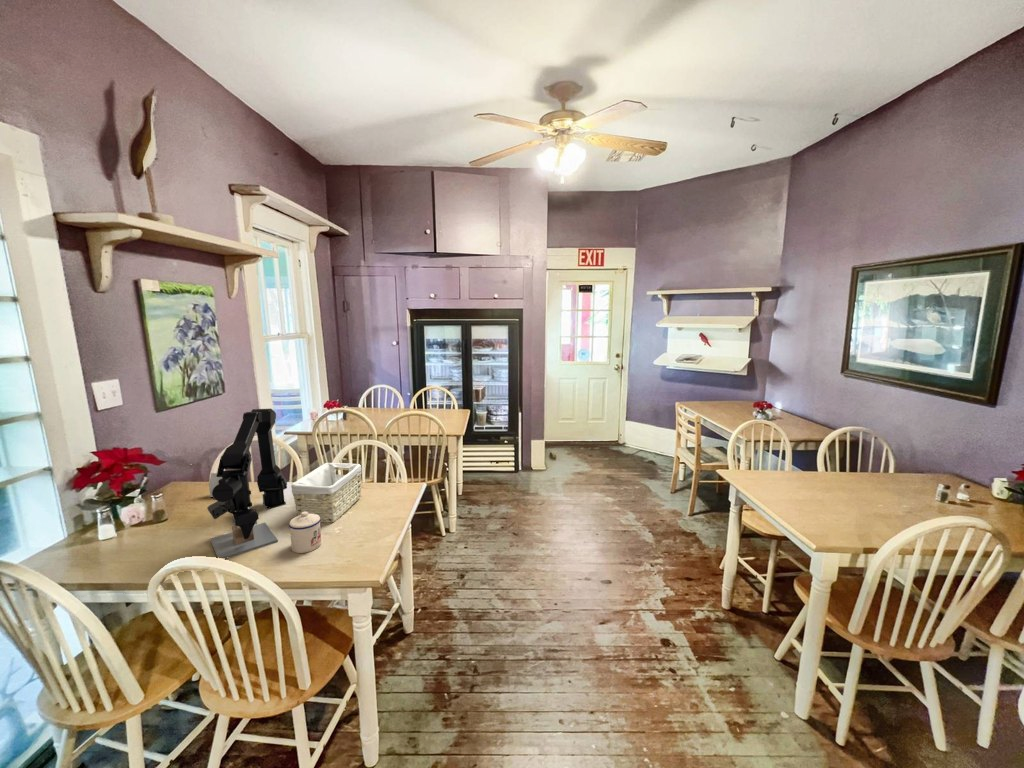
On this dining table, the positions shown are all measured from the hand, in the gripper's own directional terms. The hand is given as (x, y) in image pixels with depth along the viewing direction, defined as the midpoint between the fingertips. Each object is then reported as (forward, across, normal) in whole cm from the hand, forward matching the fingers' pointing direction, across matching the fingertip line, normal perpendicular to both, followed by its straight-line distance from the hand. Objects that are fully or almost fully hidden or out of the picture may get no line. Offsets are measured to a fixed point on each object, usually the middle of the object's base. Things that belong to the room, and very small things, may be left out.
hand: (243, 533), depth 135 cm
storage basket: (+3, -4, +30) cm, 30 cm away
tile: (+3, 0, 0) cm, 3 cm away
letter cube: (+2, 0, 0) cm, 2 cm away
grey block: (+3, -47, +1) cm, 47 cm away
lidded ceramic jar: (+3, +16, +15) cm, 22 cm away
